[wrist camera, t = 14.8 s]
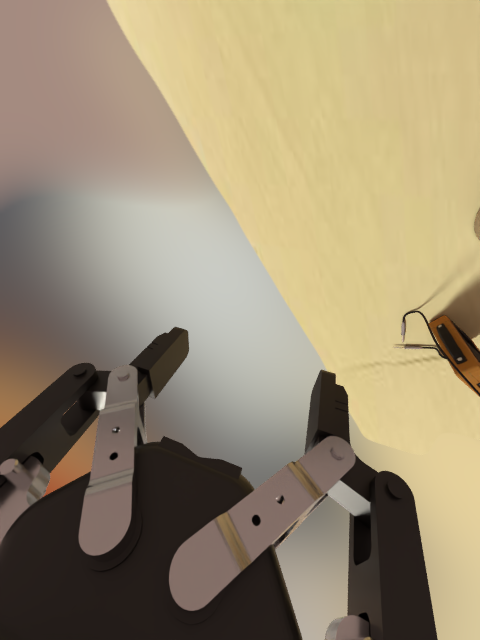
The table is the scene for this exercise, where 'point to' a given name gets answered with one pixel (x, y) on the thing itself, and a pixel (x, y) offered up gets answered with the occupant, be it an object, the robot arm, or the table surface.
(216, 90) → the table surface
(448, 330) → the multimeter
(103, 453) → the robot arm
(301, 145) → the table surface
